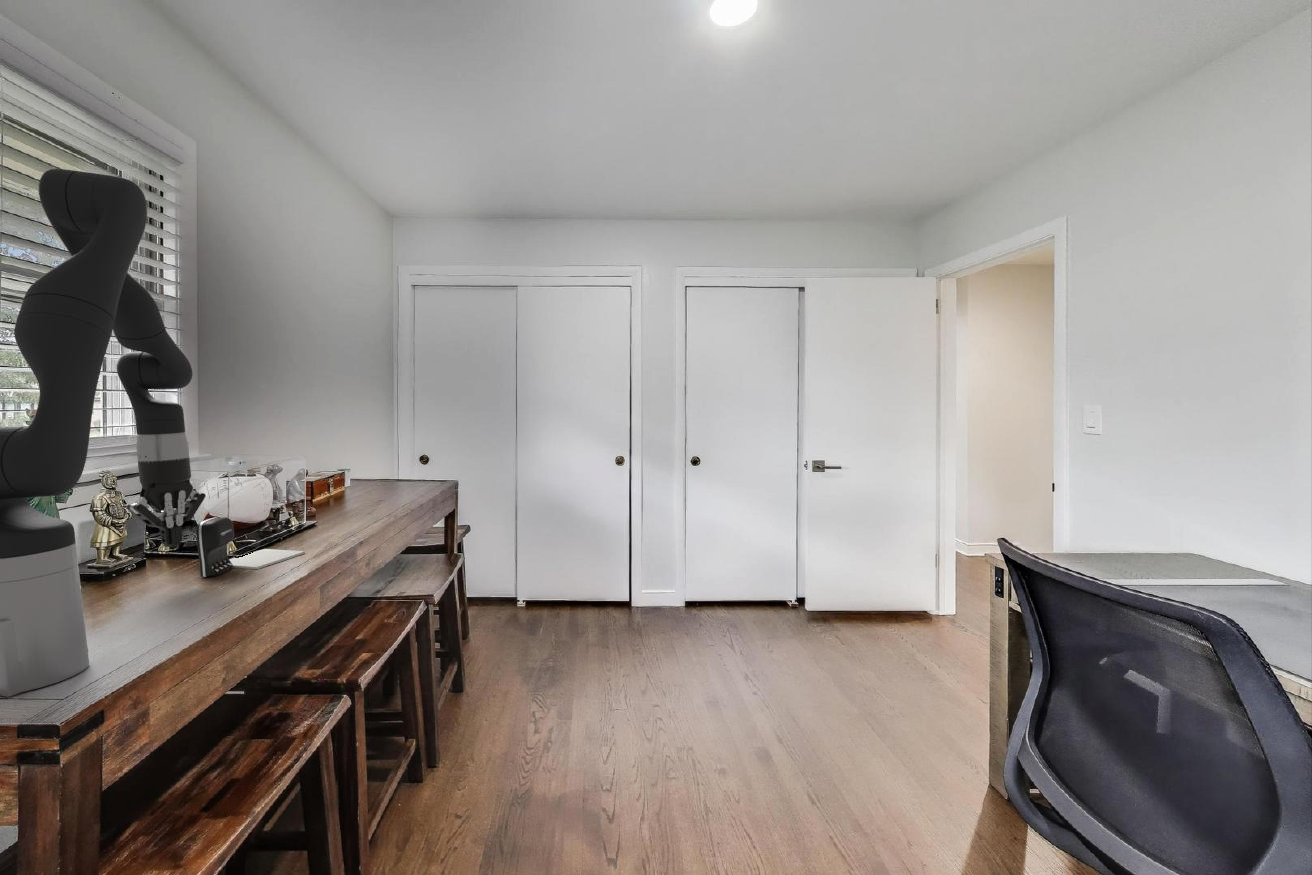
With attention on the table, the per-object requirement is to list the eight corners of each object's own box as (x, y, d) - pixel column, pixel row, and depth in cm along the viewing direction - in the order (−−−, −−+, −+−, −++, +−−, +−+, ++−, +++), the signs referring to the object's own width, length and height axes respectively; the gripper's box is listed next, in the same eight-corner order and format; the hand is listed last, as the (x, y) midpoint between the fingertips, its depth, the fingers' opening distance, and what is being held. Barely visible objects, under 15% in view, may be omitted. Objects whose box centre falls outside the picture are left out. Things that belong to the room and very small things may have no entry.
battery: (219, 577, 116) (214, 522, 115) (199, 578, 115) (194, 523, 114) (239, 566, 123) (235, 514, 122) (220, 568, 122) (215, 515, 121)
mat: (256, 569, 120) (256, 567, 120) (213, 566, 124) (213, 563, 123) (305, 553, 132) (304, 551, 132) (264, 550, 135) (264, 548, 135)
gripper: (138, 461, 101) (148, 556, 103) (213, 453, 114) (221, 537, 115) (108, 461, 103) (118, 554, 105) (185, 453, 116) (193, 536, 117)
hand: (172, 545), depth 110 cm, fingers closed
